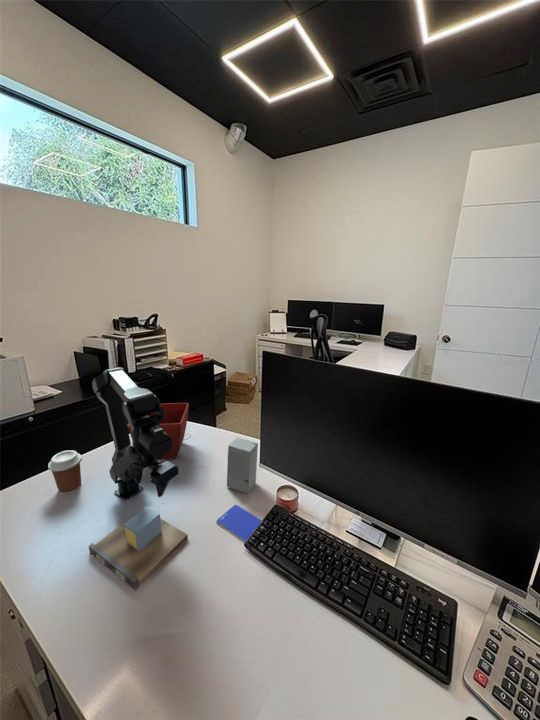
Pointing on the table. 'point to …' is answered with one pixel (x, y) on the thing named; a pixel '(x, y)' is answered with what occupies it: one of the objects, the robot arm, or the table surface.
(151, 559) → the shelf board
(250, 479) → the skincare box
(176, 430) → the plant pot
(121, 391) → the robot arm
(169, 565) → the table surface
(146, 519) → the box
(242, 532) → the hard drive
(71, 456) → the coffee cup
